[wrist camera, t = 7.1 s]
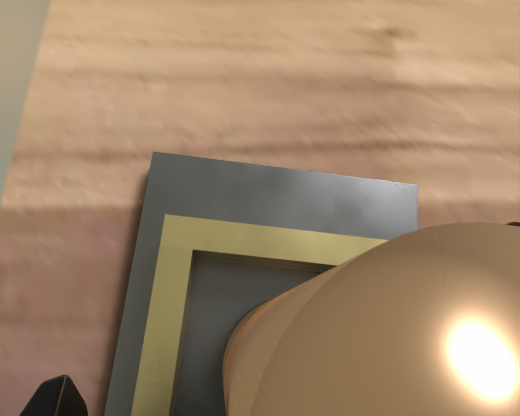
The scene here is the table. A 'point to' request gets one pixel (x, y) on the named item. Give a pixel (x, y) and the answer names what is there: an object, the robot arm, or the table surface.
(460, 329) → the tube
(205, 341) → the framed base plate
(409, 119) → the table surface
